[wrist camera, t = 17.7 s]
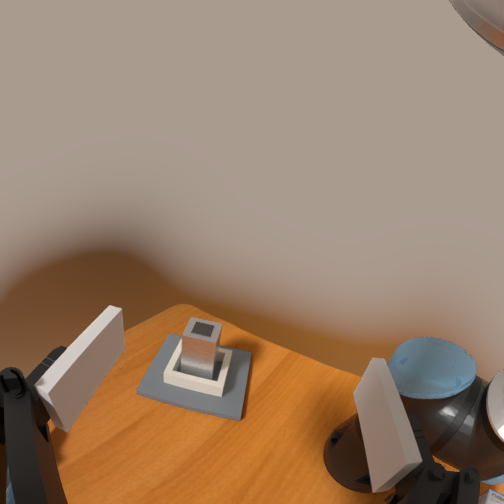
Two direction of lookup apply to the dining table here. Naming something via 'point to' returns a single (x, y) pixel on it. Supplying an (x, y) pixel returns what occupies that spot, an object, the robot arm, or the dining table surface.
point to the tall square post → (200, 348)
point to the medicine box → (491, 497)
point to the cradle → (198, 381)
